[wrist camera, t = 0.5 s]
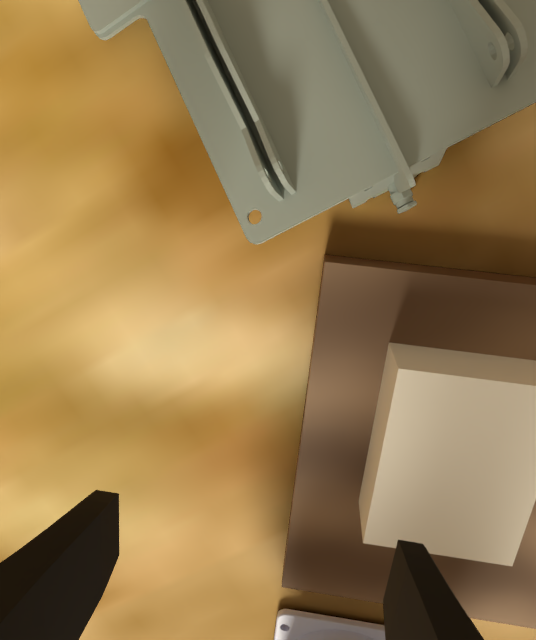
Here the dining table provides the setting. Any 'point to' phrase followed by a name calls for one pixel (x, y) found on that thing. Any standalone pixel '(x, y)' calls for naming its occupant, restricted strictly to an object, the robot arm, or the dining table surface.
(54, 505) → the dining table surface
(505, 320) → the bench board
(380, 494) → the cream rectangular block
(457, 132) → the metal bracket
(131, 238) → the dining table surface
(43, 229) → the dining table surface
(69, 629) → the robot arm
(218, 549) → the dining table surface
